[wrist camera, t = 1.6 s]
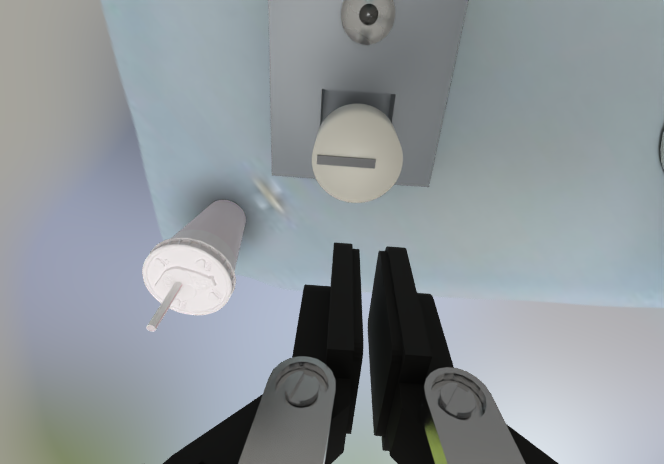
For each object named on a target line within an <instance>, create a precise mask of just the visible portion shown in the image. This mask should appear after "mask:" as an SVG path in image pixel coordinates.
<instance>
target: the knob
mask: <svg viewBox="0 0 664 464" xmlns="http://www.w3.org/2000/svg"><path fill="white" fill-rule="evenodd" d="M402 164H403V153H402V148H401V145H400V142H399V139H398V137H397V134H396V132H395V129H394V127H393V125H392V123H391V121H390V120H389V118H388V117H387V116H386V115H385V114H384V113H383V112H381V111H380V110H378V109H377V108H375V107H373V106H370V105H366V104H348V105H345V106H342V107H339V108H338V109H336V110H334V111H333V112H331V113H330V114H329V115H328V116H327V117H326V118H325V120H324V121H323V122H322V124H321V126H320V128H319V130H318V133H317V137H316V141H315V144H314V148H313V152H312V168H313V172H314V175H315V177H316V179H317V181H318V183H319V184H320V186H321V187H322V188H323V189H324V190H325V191H326V192H327V193H328V194H330V195H331V196H333V197H335V198H337V199H339V200H342V201H345V202H351V203H362V202H368V201H371V200H374V199H376V198H378V197H380V196H382V195H383V194H385V193H386V192H387V191H388V190H390V188H391V187H392V186H393V185H394V184H395V182H396V181H397V179H398V177H399V175H400V172H401V169H402Z"/></svg>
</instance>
